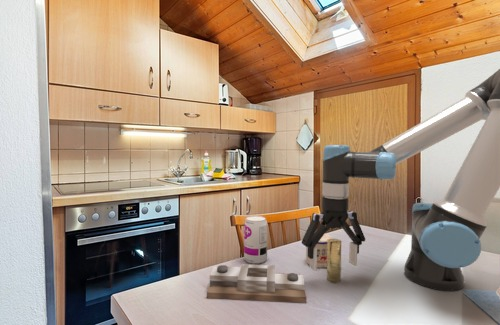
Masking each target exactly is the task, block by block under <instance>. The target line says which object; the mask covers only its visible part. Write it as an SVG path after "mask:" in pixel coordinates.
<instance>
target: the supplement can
mask: <svg viewBox="0 0 500 325" xmlns="http://www.w3.org/2000/svg"><path fill="white" fill-rule="evenodd" d="M243 223H244V224H243V225H244V226H243V228H244V229H243V250H244V251H243V253H244V254H243V259H244V260H245V261H246V263H248V264H251V265H261V264H263V263H265V262H266V261H267V260H268V221H267V219H266V217H264V216H259V215H252V216H247V217H246V218H245V220H244V222H243Z"/></svg>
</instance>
